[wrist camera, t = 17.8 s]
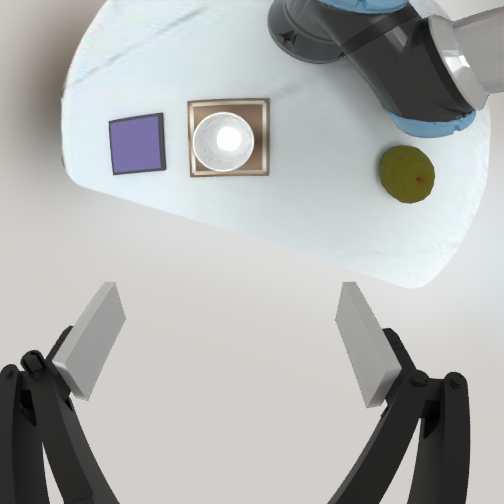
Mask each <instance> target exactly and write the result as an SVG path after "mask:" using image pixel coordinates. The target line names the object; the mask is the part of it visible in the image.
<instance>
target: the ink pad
mask: <svg viewBox="0 0 504 504" xmlns="http://www.w3.org/2000/svg"><path fill="white" fill-rule="evenodd" d="M109 136H110V149H111V160H112V169H113V175H120V174H129V173H139V172H150V171H163V170H166V163H165V147H164V128H163V113H156V114H149V115H142V116H135V117H129V118H123V119H118V120H113V121H109Z"/></svg>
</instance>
